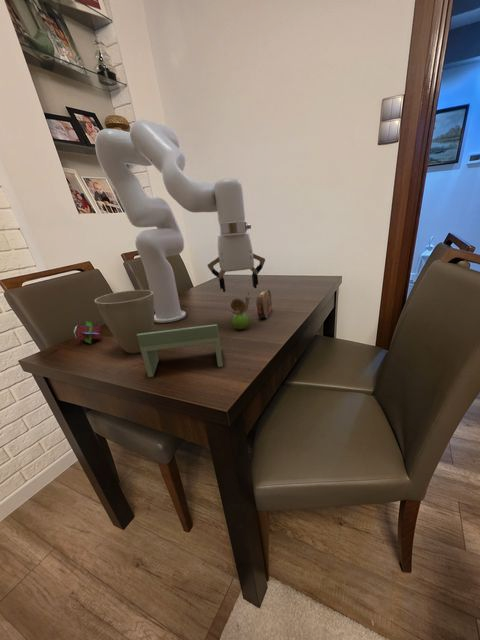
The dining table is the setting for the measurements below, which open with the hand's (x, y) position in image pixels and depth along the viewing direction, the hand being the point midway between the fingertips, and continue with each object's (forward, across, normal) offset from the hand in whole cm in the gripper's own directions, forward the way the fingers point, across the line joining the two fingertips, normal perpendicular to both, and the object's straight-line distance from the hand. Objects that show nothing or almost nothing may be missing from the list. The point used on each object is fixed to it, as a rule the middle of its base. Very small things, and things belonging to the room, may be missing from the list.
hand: (239, 289), depth 87 cm
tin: (+14, -10, -12) cm, 21 cm away
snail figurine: (+14, 0, 0) cm, 14 cm away
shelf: (+13, +18, +20) cm, 29 cm away
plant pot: (+13, +32, +5) cm, 35 cm away
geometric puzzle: (+13, +50, -6) cm, 52 cm away
